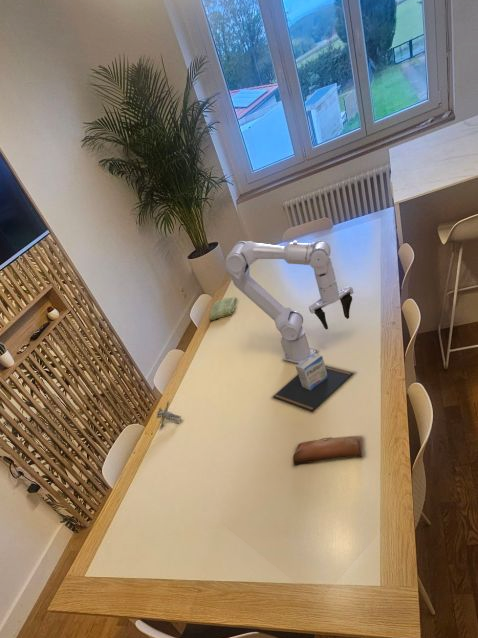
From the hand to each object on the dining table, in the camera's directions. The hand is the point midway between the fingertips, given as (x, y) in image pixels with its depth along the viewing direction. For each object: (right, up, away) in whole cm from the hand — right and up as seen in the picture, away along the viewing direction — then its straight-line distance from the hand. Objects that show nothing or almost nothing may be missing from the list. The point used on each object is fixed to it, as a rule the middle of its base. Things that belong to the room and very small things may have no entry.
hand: (336, 322), depth 137 cm
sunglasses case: (-8, -44, -25) cm, 51 cm away
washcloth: (-40, +29, +68) cm, 84 cm away
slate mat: (-8, -21, -2) cm, 23 cm away
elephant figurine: (-57, -31, +15) cm, 67 cm away
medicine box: (-7, -20, -1) cm, 22 cm away
